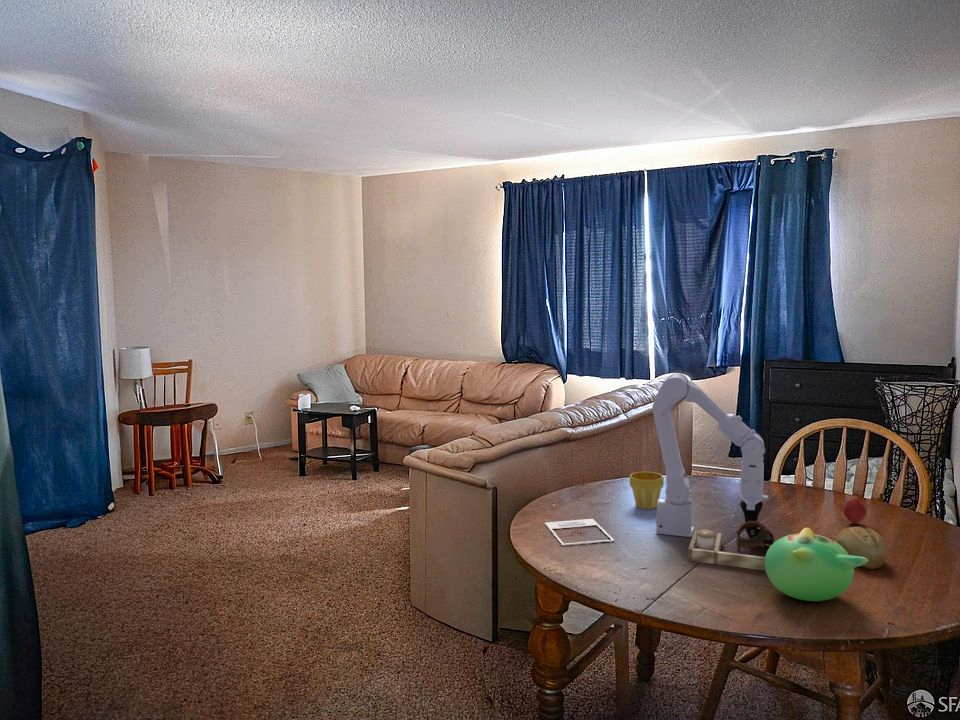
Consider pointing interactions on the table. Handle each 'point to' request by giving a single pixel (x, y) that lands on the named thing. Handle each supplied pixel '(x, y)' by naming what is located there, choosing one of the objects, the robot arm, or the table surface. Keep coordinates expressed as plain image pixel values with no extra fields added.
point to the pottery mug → (754, 535)
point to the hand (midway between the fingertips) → (750, 528)
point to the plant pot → (646, 488)
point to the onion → (854, 510)
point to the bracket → (723, 556)
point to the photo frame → (575, 524)
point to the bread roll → (863, 545)
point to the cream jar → (705, 539)
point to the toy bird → (810, 566)
